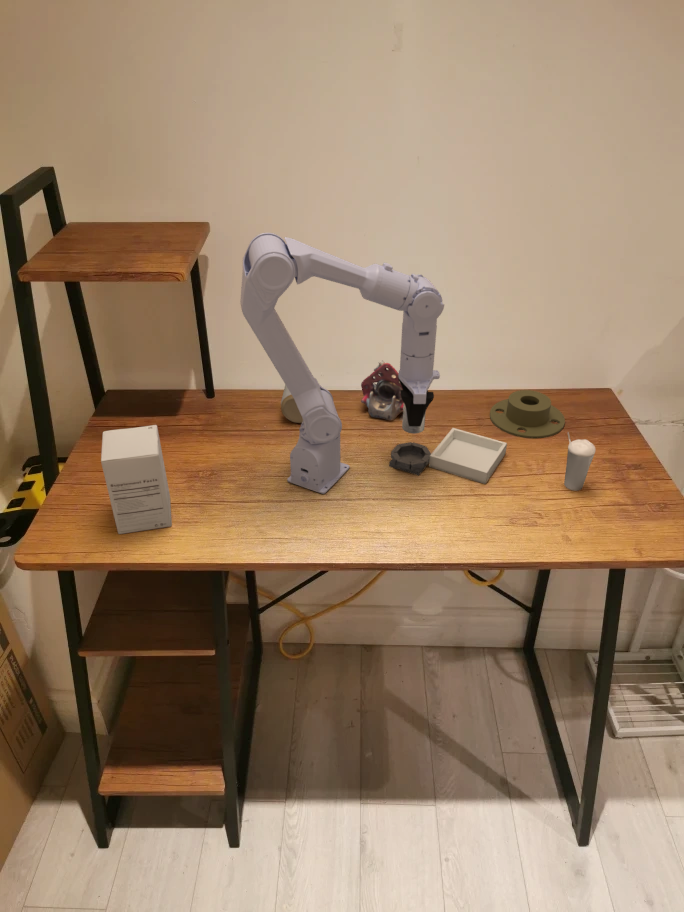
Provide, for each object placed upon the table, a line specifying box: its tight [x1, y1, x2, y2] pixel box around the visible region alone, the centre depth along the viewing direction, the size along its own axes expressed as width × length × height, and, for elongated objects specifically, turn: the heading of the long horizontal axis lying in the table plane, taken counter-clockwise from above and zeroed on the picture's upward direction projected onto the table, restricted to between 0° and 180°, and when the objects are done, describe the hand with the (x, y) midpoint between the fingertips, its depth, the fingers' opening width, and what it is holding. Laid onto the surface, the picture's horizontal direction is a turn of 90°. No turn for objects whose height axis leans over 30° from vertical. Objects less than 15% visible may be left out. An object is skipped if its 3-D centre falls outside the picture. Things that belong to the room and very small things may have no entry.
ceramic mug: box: [280, 384, 303, 424], centre depth 147 cm, size 11×8×8 cm
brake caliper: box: [360, 360, 404, 422], centre depth 149 cm, size 11×11×12 cm
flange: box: [489, 389, 566, 439], centre depth 147 cm, size 5×15×15 cm
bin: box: [428, 427, 508, 485], centre depth 135 cm, size 11×11×2 cm
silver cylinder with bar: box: [401, 390, 429, 434], centre depth 128 cm, size 4×4×7 cm
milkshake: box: [563, 431, 596, 492], centre depth 126 cm, size 5×5×10 cm
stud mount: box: [388, 441, 432, 476], centre depth 134 cm, size 7×7×2 cm
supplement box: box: [100, 424, 173, 535], centre depth 118 cm, size 9×9×15 cm
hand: (413, 418), depth 129 cm, fingers closed on silver cylinder with bar, 4 cm apart
